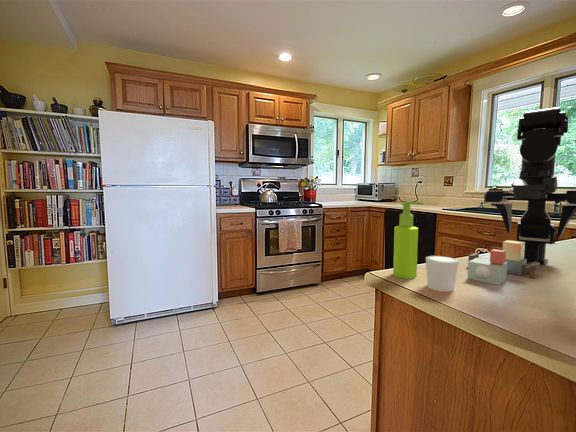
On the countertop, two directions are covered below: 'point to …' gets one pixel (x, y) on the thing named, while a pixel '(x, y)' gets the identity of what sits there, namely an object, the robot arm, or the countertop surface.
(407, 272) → the soap dispenser
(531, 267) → the brown i-shaped bar
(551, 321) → the countertop surface
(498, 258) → the red cube
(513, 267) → the carriage
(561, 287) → the countertop surface
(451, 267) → the white cup
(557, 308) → the countertop surface
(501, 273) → the cabinet
